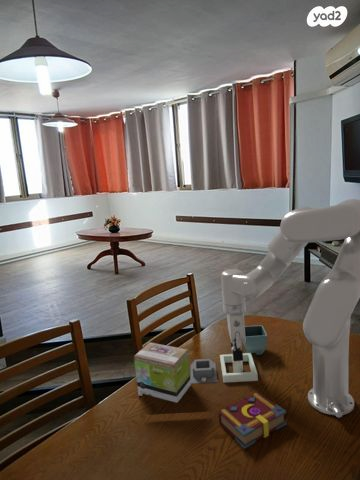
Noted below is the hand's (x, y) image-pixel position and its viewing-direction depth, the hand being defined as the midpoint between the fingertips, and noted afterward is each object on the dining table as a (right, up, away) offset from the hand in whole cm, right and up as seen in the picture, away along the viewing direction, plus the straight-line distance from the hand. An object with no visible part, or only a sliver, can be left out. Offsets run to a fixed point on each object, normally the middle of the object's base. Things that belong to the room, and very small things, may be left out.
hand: (237, 356), depth 120 cm
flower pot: (+9, -4, +15) cm, 18 cm away
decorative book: (+1, -12, -23) cm, 25 cm away
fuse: (0, -6, +1) cm, 6 cm away
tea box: (-25, -10, -5) cm, 27 cm away
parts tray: (+1, -7, +1) cm, 7 cm away
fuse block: (-11, -8, +2) cm, 14 cm away
